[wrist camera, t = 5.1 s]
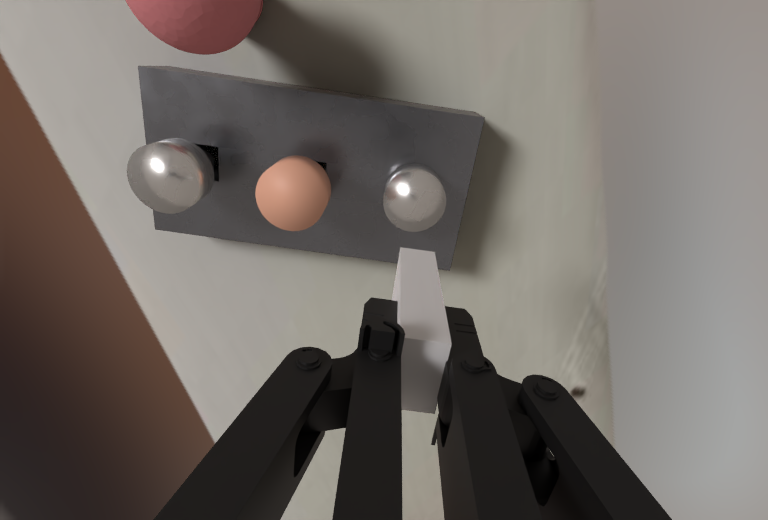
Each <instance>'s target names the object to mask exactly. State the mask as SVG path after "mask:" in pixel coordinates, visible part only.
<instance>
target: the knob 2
mask: <svg viewBox="0 0 768 520" xmlns="http://www.w3.org/2000/svg"><path fill="white" fill-rule="evenodd" d="M255 195H256V202H257V205H258V208H259V210H260V212H261V213H262V215H263V216H264V217H265V218H266V219H267V220H268V221H269V222H270V223H271V224H273V225H274V226H276V227H278V228H280V229H283V230H287V231H300V230H304V229H307V228H309V227H311V226H312V225H314V224H315V223H316V222H317V221H318V220H319V219H320V217H321V215H322V214H323V212H324V210H325V208H326V206H327V204H328V202H329V200H330V196H331V184H330V180H329V177H328V175H327V173H326V172H325V170H324V169H323V168H322V167H321V166H320V165H319V164H318V163H317V162H315V161H314V160H312V159H310V158H308V157H305V156H298V155H294V156H288V157H285V158H283V159H281V160H279V161H278V162H276V163H275V164H274V165H272V166H271V167H270V168H269V169H267V170H266V171H265V172H264V173H263V174H262V175H261V177H260V178H259V180H258V182H257V185H256V192H255Z"/></svg>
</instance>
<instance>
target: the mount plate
mask: <svg viewBox="0 0 768 520" xmlns="http://www.w3.org/2000/svg"><path fill="white" fill-rule="evenodd" d="M138 70H139V80H140V89H141V99H142V109H143V118H144V128H145V137H146V145H148V144H151V143H155V142H158V141H161V140H165V139H169V138H181V139H185V140H188V141H190V142H192V143H194V144H196V145H197V146H198V147H200V148H201V149H202V150H205V151H207V148H206V145H208V146H215V147H218V159H219V167H213V170H214V184H213V187H212V189H211V191H210V192H209V194H208V195H207V196H206V197H204V198H203V199H202V200H200V201H199V202H197V203H196V204H194V205H192V206H191V207H189V208H188V209H186V210H185V211H183V212H180V213H175V214H166V213H161V212H158V211H155V210H153V214H154V223H155V229H156V230H164V231H171V232H178V233H185V234H192V235H199V236H206V237H214V238H221V239H228V240H235V241H242V242H249V243H257V244H264V245H271V246H278V247H285V248H292V249H300V250H307V251H314V252H321V253H328V254H335V255H343V256H350V257H357V258H364V259H371V260H378V261H385V262H393V263H398V259H399V252H400V247H402V248H410V249H417V250H425V251H432V252H435V256H436V262H437V267H438V269H443V270H450V267H451V263H452V258H453V254H454V250H455V245H456V241H457V236H458V232H459V228H460V223H461V219H462V215H463V210H464V206H465V201H466V197H467V193H468V188H469V184H470V180H471V175H472V171H473V166H474V162H475V158H476V153H477V149H478V145H479V140H480V136H481V131H482V127H483V123H484V118H485V117H483V116H481V115H479V114H478V113H476V112H472V111H465V110H458V109H451V108H445V107H438V106H431V105H425V104H418V103H411V102H405V101H398V100H391V99H384V98H378V97H371V96H364V95H358V94H351V93H344V92H338V91H331V90H324V89H318V88H311V87H304V86H297V85H291V84H284V83H277V82H271V81H264V80H257V79H251V78H244V77H237V76H230V75H224V74H217V73H210V72H204V71H197V70H190V69H184V68H177V67H170V66H138ZM294 155H298V156H305V157H308V158H310V159H312V160H314V161H318V162H325V163H327V164H326V173H327V175H328V177H329V180H330V184H331V196H330V200H329V202H328V204H327V206H326V208H325V210H324V212H323V214H322V215H321V217H320V219H319V220H318V221H317V222H316V223H315V224H314V225H312V226H311V227H309V228H307V229H304V230H300V231H287V230H283V229H280V228H278V227H276V226H274V225H273V224H271V223H270V222H269V221H268V220H267V219H266V218H265V217H264V216H263V215H262V213H261V212H260V210H259V208H258V205H257V202H256V195H255V192H256V185H257V182H258V180H259V178H260V177H261V175H262V174H263V173H264V172H265V171H266V170H267V169H269V168H270V167H271V166H272V165H274V164H275V163H276V162H278V161H279V160H281V159H283V158H285V157H288V156H294ZM411 163H417V164H422V165H425V166H427V167H429V168H431V169H432V170H433V171H434V172H436V174H437V175H438V176H439V178H440V180H441V183H442V185H443V188H444V191H445V195H446V207H445V211H444V213H443V215H442V217H441V218H440V220H439V221H438V222H437V223H436V224H435V225H433V226H432V227H430V228H428V229H426V230H423V231H418V232H409V231H405V230H402V229H400V228H398V227H396V226H395V225H394V224H393V223H392V222H391V221H390V220H389V219H388V217H387V216H386V214H385V211H384V206H383V197H384V190H385V185H386V182H387V180H388V178H389V176H390V175H391V174H392V173H393V172H394V171H395V170H396V169H397V168H399V167H401V166H403V165H406V164H411Z"/></svg>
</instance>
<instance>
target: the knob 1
mask: <svg viewBox="0 0 768 520" xmlns="http://www.w3.org/2000/svg"><path fill="white" fill-rule="evenodd" d="M214 165H215V161H214V158H213V156H212V155H211V154H210V153H209V152H208V151H205V150H202V149H201V148H200V147H198V146H197V145H196V144H194V143H192V142H190V141H188V140H185V139H181V138H169V139H165V140H161V141H158V142H155V143H151V144H148V145H145V146H142V147H140V148H139V149H137V150H136V151H135V152H134V153H133V154H132V155H131V157H130V159H129V162H128V166H127V176H128V181H129V184H130V186H131V188H132V190H133V192H134V193H135V195H136V196H137V197H138V198H139V199H140V201H142V202H143V203H144V204H145V205H147V206H148V207H150V208H151V209H153V210H155V211H158V212H161V213H166V214H175V213H180V212H183V211H185V210H186V209H188V208H189V207H191V206H192V205H194V204H196V203H197V202H199V201H200V200H202V199H203V198H204V197H206V196H207V195H208V194H209V192H210V191H211V189H212V187H213V184H214V170H213V167H214Z"/></svg>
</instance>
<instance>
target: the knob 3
mask: <svg viewBox="0 0 768 520" xmlns="http://www.w3.org/2000/svg"><path fill="white" fill-rule="evenodd" d="M383 206H384V211H385V214H386V216H387V217H388V219H389V220H390V221H391V222H392V223H393V224H394V225H395V226H396V227H398V228H400V229H402V230H405V231H409V232H418V231H423V230H426V229H428V228H430V227H432V226H433V225H435V224H436V223H437V222H438V221H439V220H440V218H441V217H442V215H443V213H444V211H445V207H446V195H445V191H444V188H443V185H442V183H441V180H440V178H439V176H438V175H437V174H436V172H434V171H433V170H432V169H431V168H429V167H427V166H425V165H422V164H417V163H411V164H406V165H403V166H401V167H399V168H397V169H396V170H395V171H394V172H393V173H392V174H391V175H390V176H389V178H388V180H387V182H386V185H385V190H384V197H383Z"/></svg>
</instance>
